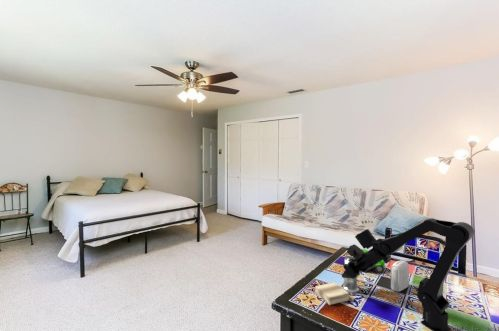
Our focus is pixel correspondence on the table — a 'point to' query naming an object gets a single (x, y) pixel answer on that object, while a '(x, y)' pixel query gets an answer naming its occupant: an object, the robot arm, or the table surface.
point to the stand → (332, 293)
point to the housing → (349, 283)
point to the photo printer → (399, 275)
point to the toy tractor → (377, 265)
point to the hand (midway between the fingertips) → (347, 273)
